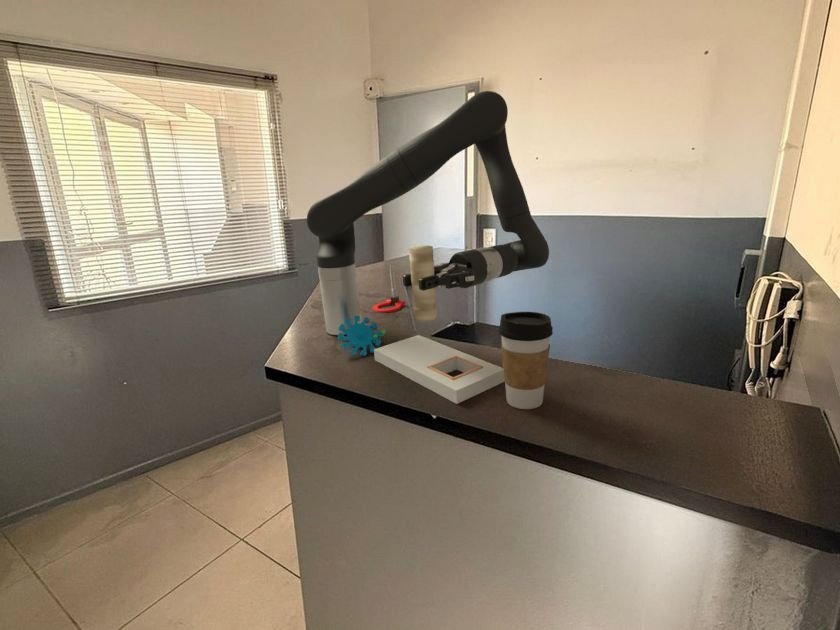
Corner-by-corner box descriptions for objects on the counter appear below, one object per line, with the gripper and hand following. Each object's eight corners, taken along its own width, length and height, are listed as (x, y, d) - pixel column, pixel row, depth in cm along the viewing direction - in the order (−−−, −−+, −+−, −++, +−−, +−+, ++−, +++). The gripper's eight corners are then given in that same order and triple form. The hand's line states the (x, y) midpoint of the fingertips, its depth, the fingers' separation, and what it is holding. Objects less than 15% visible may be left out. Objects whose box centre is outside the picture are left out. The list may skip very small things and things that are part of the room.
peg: (409, 318, 87) (404, 248, 83) (427, 313, 89) (422, 244, 85) (423, 323, 83) (418, 250, 79) (441, 317, 86) (437, 246, 82)
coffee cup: (489, 396, 76) (488, 313, 71) (529, 384, 79) (531, 305, 74) (518, 418, 68) (519, 328, 64) (561, 405, 71) (565, 318, 67)
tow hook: (390, 315, 125) (408, 305, 132) (384, 272, 120) (403, 263, 128) (367, 312, 129) (386, 302, 136) (361, 270, 125) (381, 262, 132)
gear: (342, 355, 93) (335, 314, 98) (337, 366, 98) (331, 327, 102) (391, 351, 98) (382, 313, 102) (384, 362, 102) (376, 325, 107)
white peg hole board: (374, 360, 94) (373, 348, 93) (419, 345, 100) (418, 334, 100) (456, 404, 74) (456, 389, 73) (504, 381, 81) (504, 368, 80)
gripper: (452, 246, 97) (388, 259, 87) (501, 252, 86) (435, 268, 76) (453, 279, 99) (391, 295, 89) (501, 289, 88) (437, 309, 78)
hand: (412, 282), depth 82 cm, fingers closed on peg, 4 cm apart
